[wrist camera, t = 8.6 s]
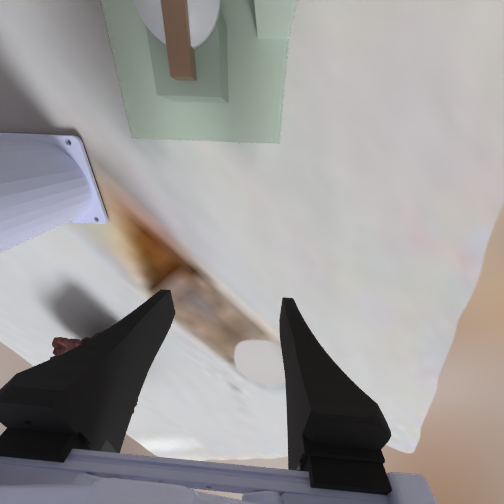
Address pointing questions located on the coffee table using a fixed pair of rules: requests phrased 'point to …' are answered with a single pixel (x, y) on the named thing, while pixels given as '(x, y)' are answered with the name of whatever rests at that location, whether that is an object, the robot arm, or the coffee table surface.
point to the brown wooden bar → (180, 29)
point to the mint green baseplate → (206, 74)
